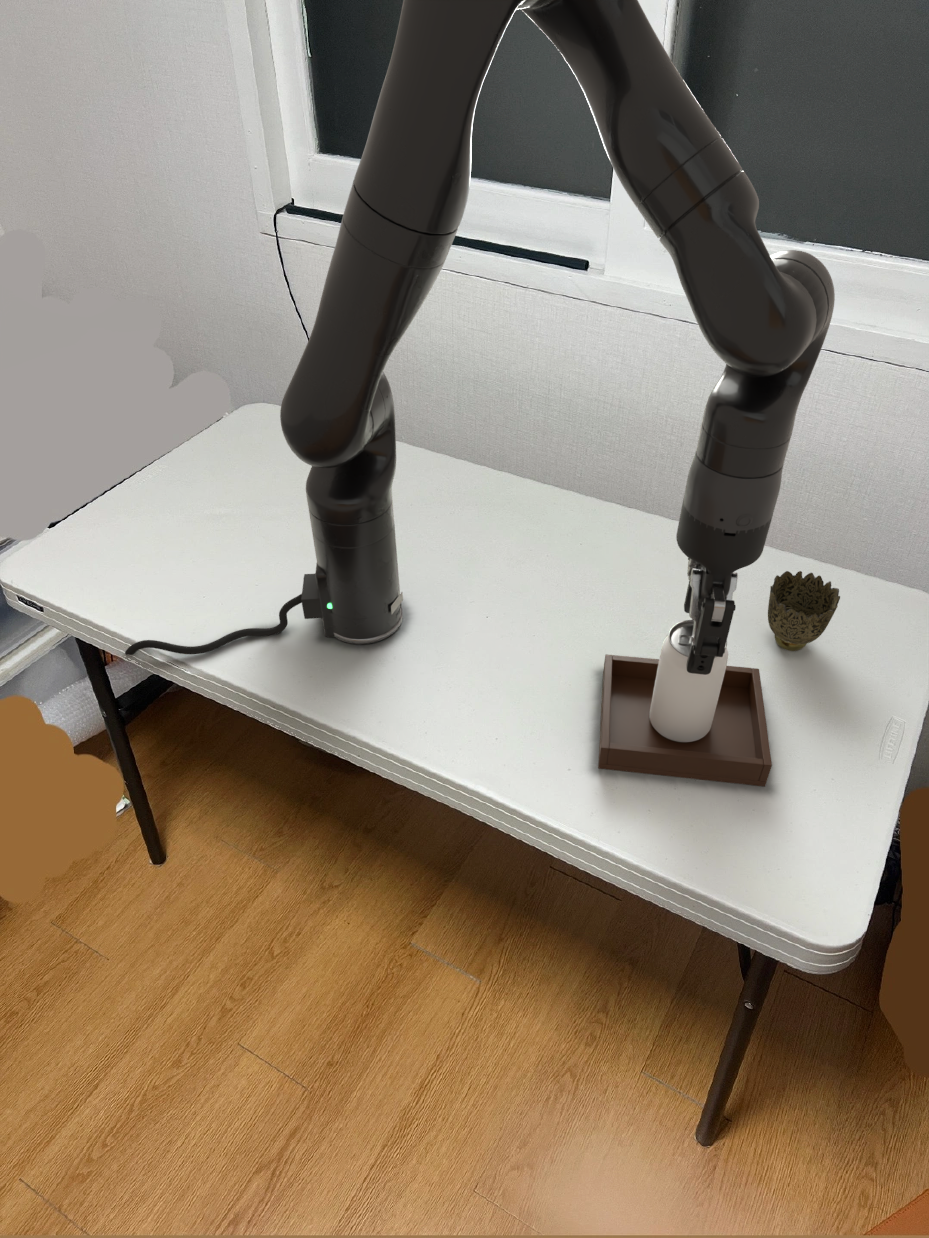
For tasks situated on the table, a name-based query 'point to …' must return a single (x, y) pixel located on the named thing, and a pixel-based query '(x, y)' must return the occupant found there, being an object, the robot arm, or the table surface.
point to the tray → (719, 756)
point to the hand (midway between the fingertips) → (696, 640)
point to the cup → (800, 609)
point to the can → (684, 689)
